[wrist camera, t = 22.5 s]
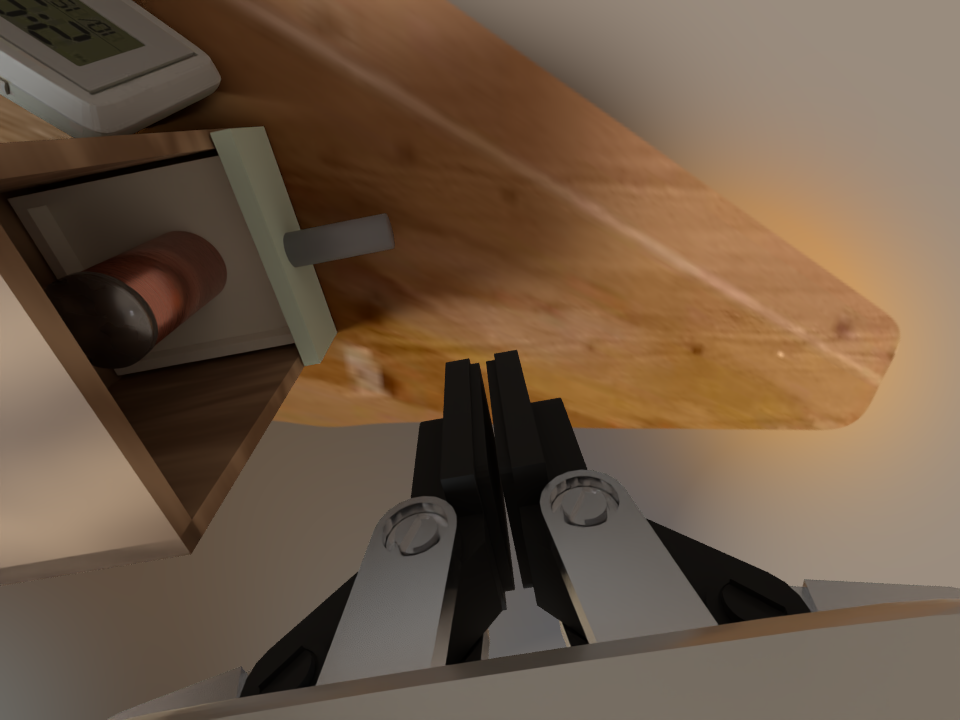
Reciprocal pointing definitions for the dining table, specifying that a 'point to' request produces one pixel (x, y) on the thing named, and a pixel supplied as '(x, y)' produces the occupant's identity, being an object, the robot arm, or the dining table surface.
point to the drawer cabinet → (110, 398)
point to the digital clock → (98, 65)
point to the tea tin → (138, 296)
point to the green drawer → (228, 227)
